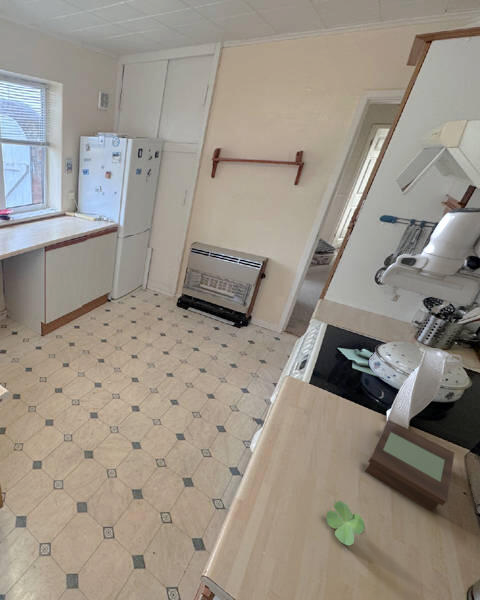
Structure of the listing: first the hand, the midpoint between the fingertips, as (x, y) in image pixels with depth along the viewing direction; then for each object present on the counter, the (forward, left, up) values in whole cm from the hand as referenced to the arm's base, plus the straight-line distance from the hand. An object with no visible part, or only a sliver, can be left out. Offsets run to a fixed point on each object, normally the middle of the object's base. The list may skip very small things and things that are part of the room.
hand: (413, 306), depth 100 cm
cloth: (-11, -21, -34) cm, 42 cm away
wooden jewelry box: (+4, +34, -34) cm, 48 cm away
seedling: (+27, +59, -34) cm, 73 cm away
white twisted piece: (-4, +14, -34) cm, 37 cm away
